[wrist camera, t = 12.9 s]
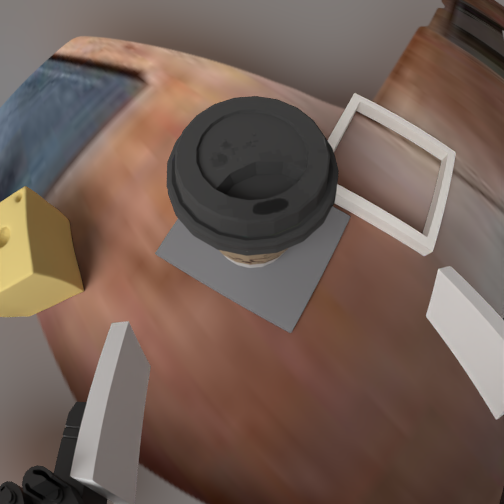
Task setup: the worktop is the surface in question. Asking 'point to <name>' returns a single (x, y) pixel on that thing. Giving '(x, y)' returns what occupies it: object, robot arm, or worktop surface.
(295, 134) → the coffee cup
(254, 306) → the rubber mat
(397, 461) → the worktop surface
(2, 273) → the cheese
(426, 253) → the holder frame
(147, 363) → the robot arm
